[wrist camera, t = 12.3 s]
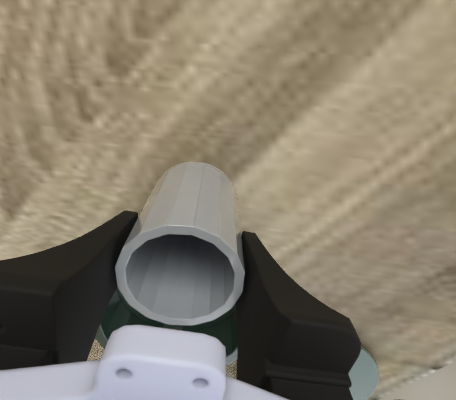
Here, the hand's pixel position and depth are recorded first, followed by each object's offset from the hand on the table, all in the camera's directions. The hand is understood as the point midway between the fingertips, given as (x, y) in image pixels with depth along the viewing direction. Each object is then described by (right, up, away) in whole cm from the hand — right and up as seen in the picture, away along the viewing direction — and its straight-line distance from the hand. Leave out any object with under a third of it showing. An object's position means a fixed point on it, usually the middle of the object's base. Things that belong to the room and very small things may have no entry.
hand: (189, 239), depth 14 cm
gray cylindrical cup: (0, +2, +3) cm, 4 cm away
